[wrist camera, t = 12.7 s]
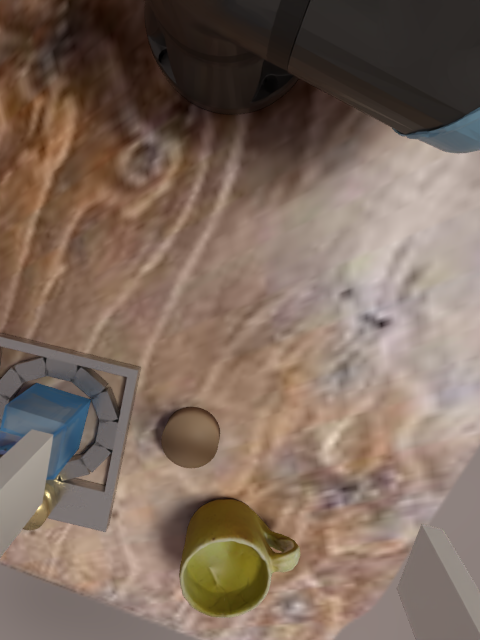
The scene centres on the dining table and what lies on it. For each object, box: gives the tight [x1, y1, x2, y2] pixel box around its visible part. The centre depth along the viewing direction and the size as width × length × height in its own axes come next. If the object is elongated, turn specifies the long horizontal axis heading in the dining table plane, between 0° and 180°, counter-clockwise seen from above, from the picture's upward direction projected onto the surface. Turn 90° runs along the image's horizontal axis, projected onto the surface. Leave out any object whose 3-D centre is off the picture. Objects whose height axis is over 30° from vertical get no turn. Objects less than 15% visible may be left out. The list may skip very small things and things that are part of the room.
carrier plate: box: [0, 333, 141, 532], centre depth 48 cm, size 20×16×4 cm
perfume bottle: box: [0, 383, 91, 480], centre depth 44 cm, size 6×6×12 cm
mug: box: [179, 499, 300, 618], centre depth 48 cm, size 12×10×10 cm
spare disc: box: [161, 407, 220, 468], centre depth 49 cm, size 6×6×2 cm
